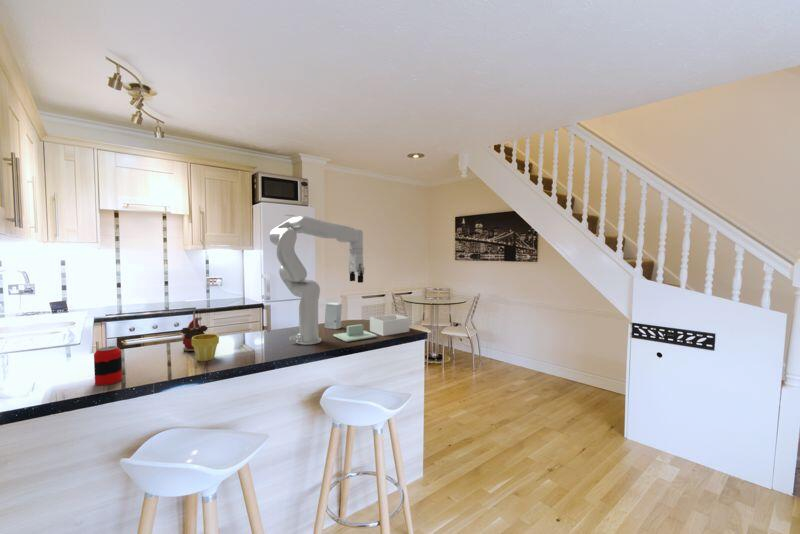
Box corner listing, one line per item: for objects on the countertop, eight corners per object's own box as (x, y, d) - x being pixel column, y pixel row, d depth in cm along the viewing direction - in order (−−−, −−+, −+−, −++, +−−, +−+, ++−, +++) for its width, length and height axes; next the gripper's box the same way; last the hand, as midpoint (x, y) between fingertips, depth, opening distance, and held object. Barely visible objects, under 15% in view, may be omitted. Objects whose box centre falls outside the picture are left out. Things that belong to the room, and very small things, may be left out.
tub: (383, 335, 198) (383, 321, 197) (369, 330, 209) (369, 317, 209) (409, 331, 208) (409, 317, 208) (395, 327, 220) (395, 314, 219)
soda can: (127, 377, 133) (126, 345, 132) (111, 385, 125) (110, 351, 124) (106, 377, 132) (105, 345, 132) (89, 385, 125) (87, 351, 124)
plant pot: (224, 356, 159) (224, 334, 158) (206, 363, 149) (205, 340, 149) (205, 354, 162) (204, 332, 161) (186, 361, 152) (185, 338, 151)
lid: (345, 343, 183) (345, 330, 183) (333, 337, 195) (333, 325, 195) (377, 338, 194) (377, 325, 194) (363, 333, 206) (363, 321, 206)
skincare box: (324, 328, 215) (324, 303, 214) (329, 326, 221) (329, 302, 220) (336, 329, 212) (336, 304, 211) (341, 327, 218) (341, 302, 217)
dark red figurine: (183, 353, 163) (182, 314, 162) (180, 349, 170) (179, 311, 169) (209, 349, 169) (209, 311, 168) (205, 345, 177) (204, 308, 176)
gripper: (343, 251, 209) (343, 280, 210) (357, 251, 195) (357, 283, 196) (355, 251, 213) (355, 280, 214) (369, 251, 199) (369, 282, 200)
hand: (356, 281), depth 205 cm, fingers open, 9 cm apart
